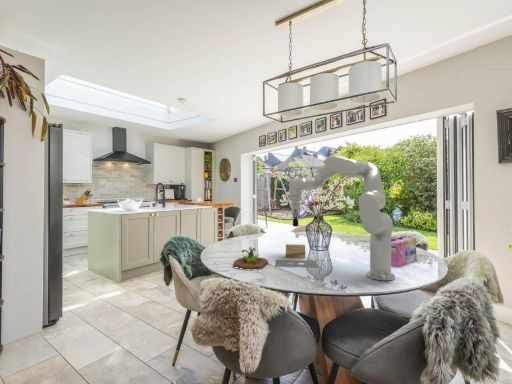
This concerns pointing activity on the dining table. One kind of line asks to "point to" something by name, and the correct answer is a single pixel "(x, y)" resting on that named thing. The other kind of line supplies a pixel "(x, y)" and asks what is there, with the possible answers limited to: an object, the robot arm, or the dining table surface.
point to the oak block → (295, 251)
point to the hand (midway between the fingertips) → (295, 225)
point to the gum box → (403, 251)
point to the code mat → (296, 263)
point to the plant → (250, 261)
